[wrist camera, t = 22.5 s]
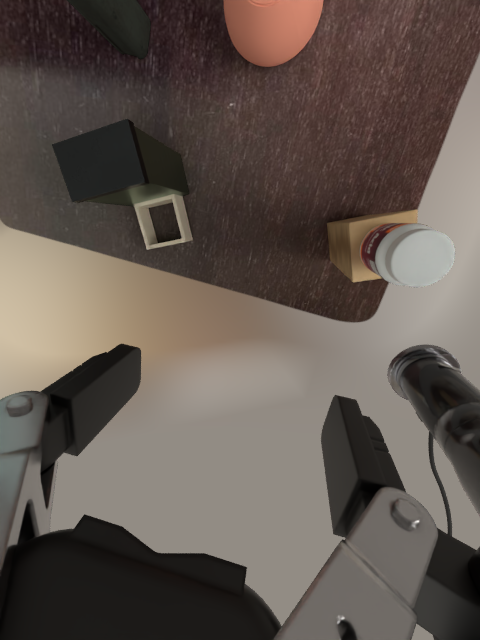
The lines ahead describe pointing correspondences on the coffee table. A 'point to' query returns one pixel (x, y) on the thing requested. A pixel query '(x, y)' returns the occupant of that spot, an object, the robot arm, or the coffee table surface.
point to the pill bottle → (407, 253)
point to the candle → (118, 23)
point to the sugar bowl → (271, 28)
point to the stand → (359, 241)
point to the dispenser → (119, 166)
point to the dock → (147, 223)
